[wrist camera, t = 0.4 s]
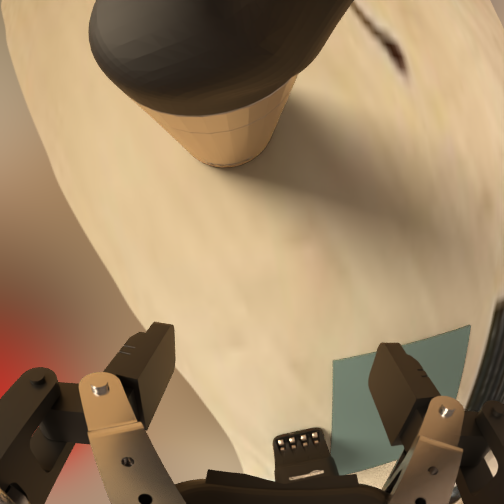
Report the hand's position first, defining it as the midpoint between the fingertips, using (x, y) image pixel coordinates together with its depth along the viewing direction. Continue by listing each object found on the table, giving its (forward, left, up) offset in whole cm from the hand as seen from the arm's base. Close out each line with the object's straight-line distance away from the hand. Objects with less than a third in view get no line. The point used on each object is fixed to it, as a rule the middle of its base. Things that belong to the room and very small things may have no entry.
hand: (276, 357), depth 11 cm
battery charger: (+23, +3, -19) cm, 30 cm away
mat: (+23, +17, -19) cm, 34 cm away
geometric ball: (+48, +44, -19) cm, 68 cm away
